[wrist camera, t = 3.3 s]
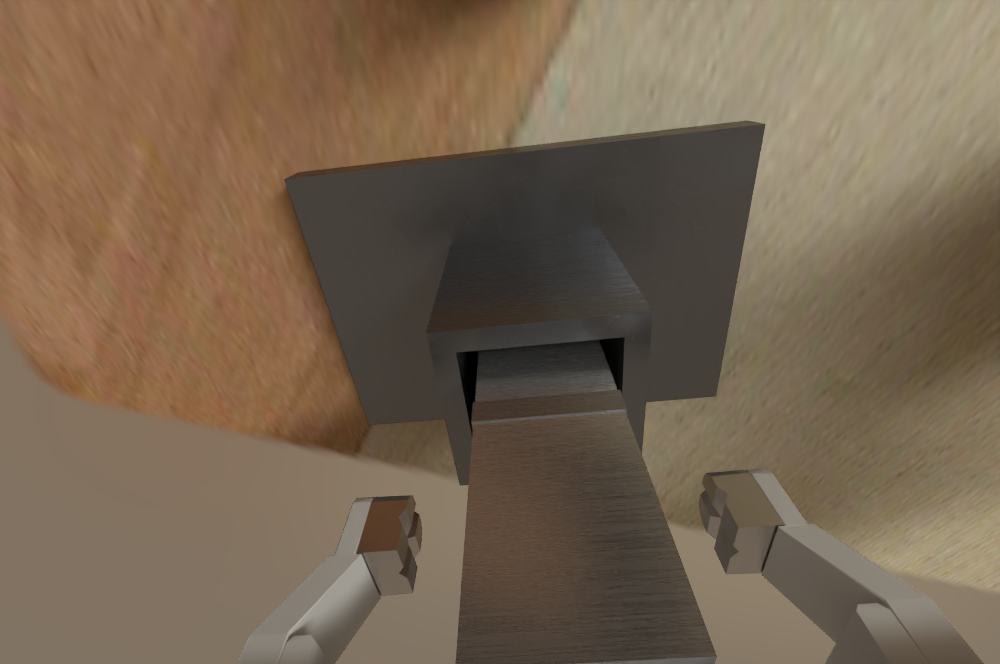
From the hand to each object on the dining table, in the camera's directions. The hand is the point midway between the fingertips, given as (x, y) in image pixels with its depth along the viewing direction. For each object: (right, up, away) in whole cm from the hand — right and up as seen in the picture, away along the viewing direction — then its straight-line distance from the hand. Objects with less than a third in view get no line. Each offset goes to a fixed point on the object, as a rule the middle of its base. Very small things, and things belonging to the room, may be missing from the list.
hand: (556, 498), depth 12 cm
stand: (0, +7, +11) cm, 13 cm away
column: (0, +6, +10) cm, 11 cm away
